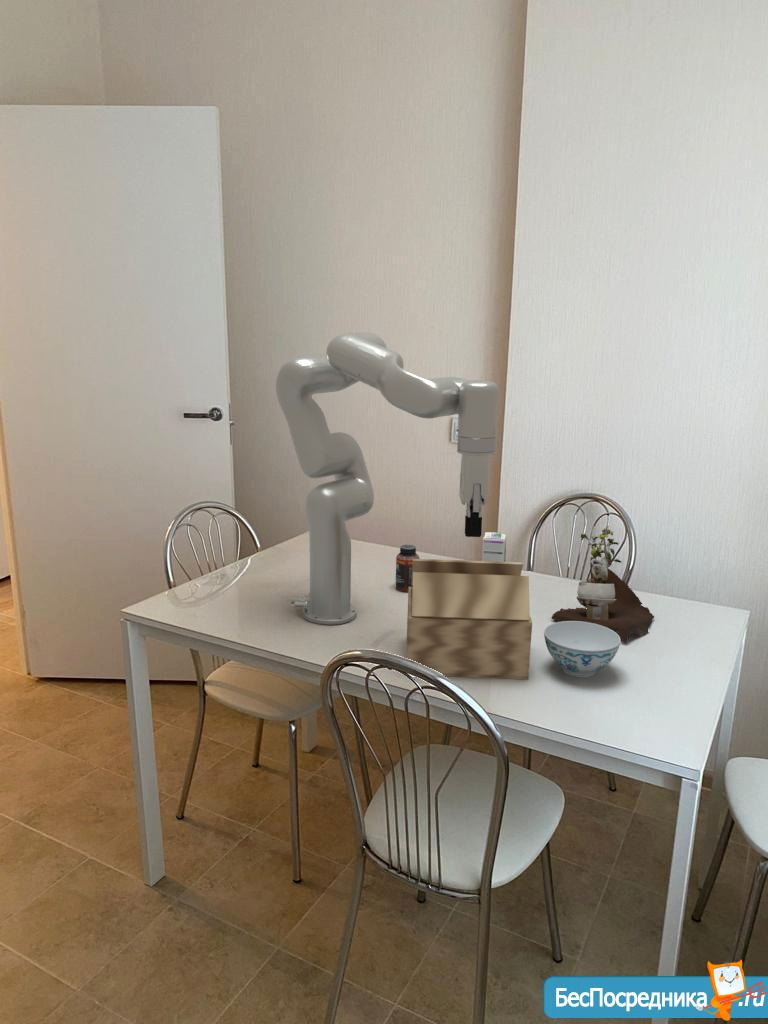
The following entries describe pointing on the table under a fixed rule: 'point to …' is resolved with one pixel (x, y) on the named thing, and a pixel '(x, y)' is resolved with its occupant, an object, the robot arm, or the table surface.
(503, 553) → the syrup box
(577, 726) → the table surface
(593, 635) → the chinaware
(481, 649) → the carton
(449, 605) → the front flap
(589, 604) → the potted plant
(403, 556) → the supplement bottle
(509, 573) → the back flap
